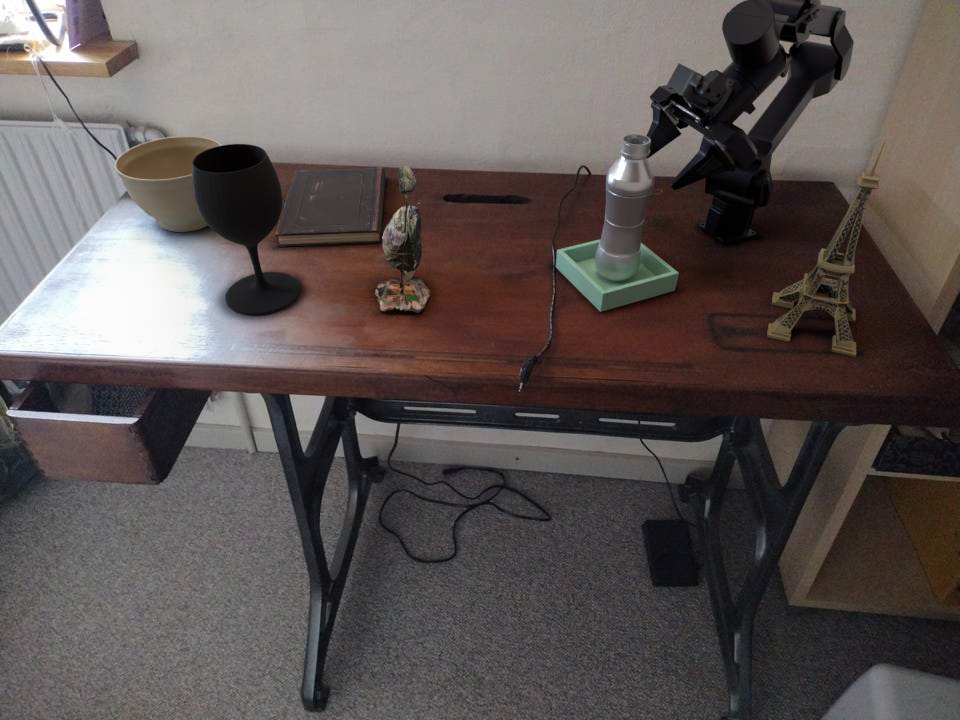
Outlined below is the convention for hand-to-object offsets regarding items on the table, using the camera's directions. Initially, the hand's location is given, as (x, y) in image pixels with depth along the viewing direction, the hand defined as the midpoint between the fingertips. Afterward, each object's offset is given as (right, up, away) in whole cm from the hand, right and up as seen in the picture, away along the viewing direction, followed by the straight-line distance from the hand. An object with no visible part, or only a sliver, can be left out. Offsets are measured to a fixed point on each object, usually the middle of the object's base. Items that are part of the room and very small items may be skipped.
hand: (654, 173), depth 93 cm
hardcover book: (-48, -1, +21) cm, 53 cm away
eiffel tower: (+20, -21, -4) cm, 29 cm away
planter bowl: (-72, -3, +18) cm, 74 cm away
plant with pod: (-35, -17, +2) cm, 39 cm away
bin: (-5, -14, +5) cm, 15 cm away
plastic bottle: (-4, -13, +5) cm, 15 cm away
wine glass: (-55, -17, +2) cm, 57 cm away
